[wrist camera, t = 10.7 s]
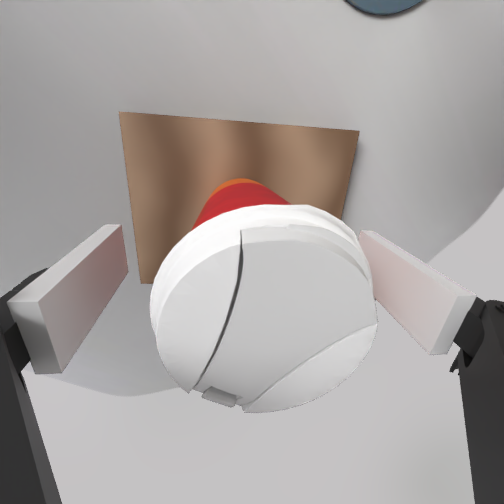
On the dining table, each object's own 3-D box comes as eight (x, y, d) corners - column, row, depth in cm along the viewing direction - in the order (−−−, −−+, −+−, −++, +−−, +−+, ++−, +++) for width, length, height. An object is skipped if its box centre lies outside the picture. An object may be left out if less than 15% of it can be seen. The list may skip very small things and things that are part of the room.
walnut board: (145, 275, 25) (140, 283, 23) (125, 113, 19) (118, 111, 18) (321, 276, 27) (326, 283, 26) (350, 131, 21) (359, 131, 20)
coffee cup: (253, 271, 24) (293, 443, 11) (174, 227, 22) (93, 381, 8) (308, 198, 22) (449, 299, 8) (226, 139, 19) (236, 144, 6)
